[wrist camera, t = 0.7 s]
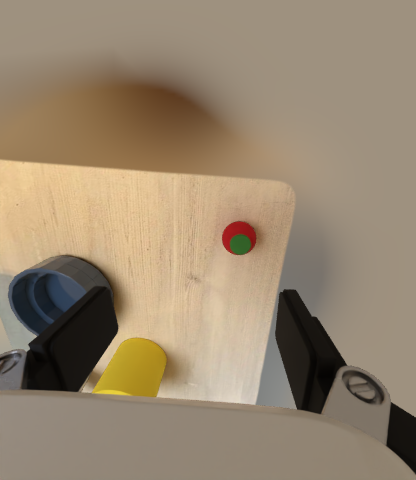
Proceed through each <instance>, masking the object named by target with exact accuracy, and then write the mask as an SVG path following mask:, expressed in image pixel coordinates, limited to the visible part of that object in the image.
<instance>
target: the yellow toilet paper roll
mask: <svg viewBox="0 0 416 480" xmlns="http://www.w3.org/2000/svg"><path fill="white" fill-rule="evenodd" d="M166 363H167V358H166V355H165V353H164V351H163V350H162V348H161V347H160V346H158V345H157V344H156V343H154V342H152V341H150V340H147V339H143V338H131V339H128V340H126V341H124V342H123V343H121V344H120V346H119V348H118V349H117V351H116V353H115V354H114V356H113V358H112V359H111V361H110V363H109V364H108V366H107V368H106V369H105V371H104V373H103V374H102V376H101V378H100V380H99V381H98V383H97V385H96V386H95V388H94V390H93V391H92V393H98V394H114V395H129V396H144V397H156V396H157V393H158V390H159V386H160V383H161V380H162V376H163V373H164V370H165V366H166Z"/></svg>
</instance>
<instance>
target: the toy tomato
mask: <svg viewBox="0 0 416 480" xmlns="http://www.w3.org/2000/svg"><path fill="white" fill-rule="evenodd" d="M222 242H223V245H224V247H225V248H226V250H227V251H229V252H230V253H232V254H235V255H244V254H246V253H248V252H250V251H251V250H252V249H253V247H254V246H255V243H256V233H255V231H254V229H253V228H252V227H251V226H250V225H249V224H247V223H245V222H241V221H237V222H233V223H231V224H229V225H228V226H227V227H226V228H225V230H224V232H223V235H222Z"/></svg>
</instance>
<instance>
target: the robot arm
mask: <svg viewBox="0 0 416 480" xmlns="http://www.w3.org/2000/svg"><path fill="white" fill-rule="evenodd" d="M117 332H118V323H117V319H116V314H115V310H114V305H113V301H112V297H111V292H110V290H109V289H108V288H107V287H106V286H94V287H93V288H91V289H90V290H89V291H88V292H87V293H86V294H85V295H84V296H82V297H81V298H80V299H79V300H78V301H77V302H76V303H74V304H73V305H72V306H71V307H70V308H69V309H68V310H67V311H65V312H64V313H63V314H62V315H61V316H60V317H59V318H57V319H56V320H55V321H54V322H53V323H52V324H51V325H50V326H48V327H47V328H46V329H45V330H44V331H43V332H42V333H40V334H39V335H38V336H37V337H36V338H35V339H34V340H33V341H31V342H30V343H29V344H28V345H29V347H30V350H29V351H28V352H26V351H25V350H22V349H16V350H12V351H8V352H5V353H3V354H1V355H0V480H416V417H414V416H412V415H411V414H409V413H407V412H406V411H404V410H403V409H401V408H399V407H398V406H396V405H395V404H393V403H392V402H391V400H390V395H389V393H388V391H387V389H386V388H385V386H384V385H383V384H382V383H381V382H380V381H379V380H378V379H377V378H376V377H375V376H373V375H372V374H370V373H369V372H367V371H365V370H363V369H361V368H358V367H354V366H347V364H346V363H345V361H344V359H343V358H342V356H341V355H340V353H339V352H338V350H337V348H336V347H335V345H334V343H333V342H332V340H331V339H330V337H329V336H328V334H327V332H326V331H325V329H324V328H323V326H322V325H321V323H320V321H319V320H318V319H317V317H312V316H311V314H310V313H309V311H308V309H307V308H306V306H305V304H304V303H303V301H302V299H301V298H300V296H299V294H298V293H297V291H296V290H286V289H284V291H283V292H280V294H279V303H278V313H277V322H276V331H275V336H276V341H277V345H278V348H279V351H280V354H281V357H282V361H283V364H284V368H285V371H286V374H287V378H288V381H289V384H290V387H291V391H292V394H293V397H294V400H295V404H296V407H297V410H296V409H289V408H282V407H271V406H261V405H250V404H239V403H226V402H213V401H199V400H186V399H172V398H158V397H144V396H129V395H114V394H98V393H82V392H78V391H79V390H80V388H81V387H82V385H83V384H84V382H85V381H86V379H87V378H88V376H89V375H90V373H91V372H92V370H93V369H94V367H95V366H96V364H97V363H98V361H99V360H100V358H101V357H102V355H103V354H104V352H105V351H106V349H107V348H108V346H109V345H110V343H111V342H112V340H113V339H114V337H115V336H116V334H117Z"/></svg>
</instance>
